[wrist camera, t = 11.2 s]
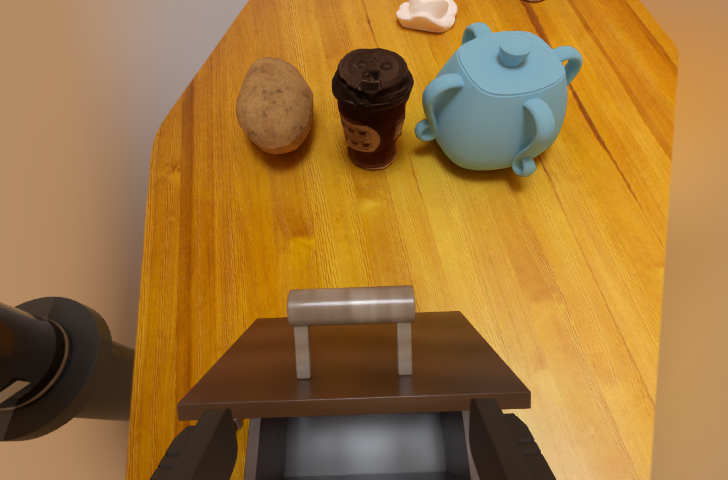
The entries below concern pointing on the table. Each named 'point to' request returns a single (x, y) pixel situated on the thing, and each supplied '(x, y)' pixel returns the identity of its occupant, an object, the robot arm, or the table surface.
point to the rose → (428, 15)
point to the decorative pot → (498, 99)
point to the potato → (275, 106)
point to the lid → (355, 361)
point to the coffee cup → (372, 104)
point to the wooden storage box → (361, 447)
